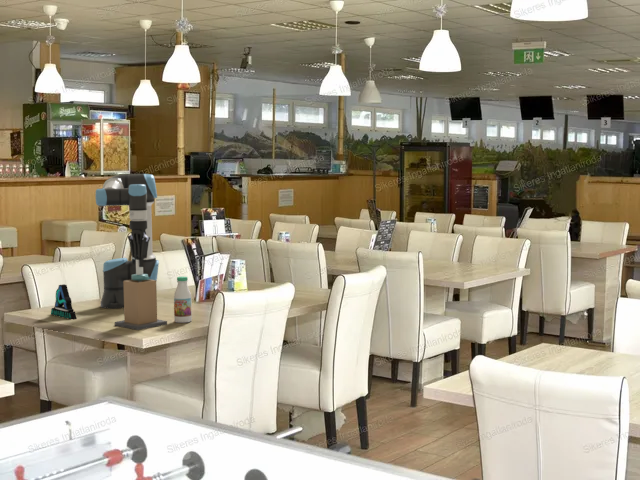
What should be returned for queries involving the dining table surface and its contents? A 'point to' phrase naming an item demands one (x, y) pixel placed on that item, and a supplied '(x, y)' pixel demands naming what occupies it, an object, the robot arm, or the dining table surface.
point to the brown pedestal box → (140, 305)
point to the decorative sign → (61, 300)
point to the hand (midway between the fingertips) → (139, 274)
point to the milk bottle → (182, 302)
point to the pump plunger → (140, 277)
